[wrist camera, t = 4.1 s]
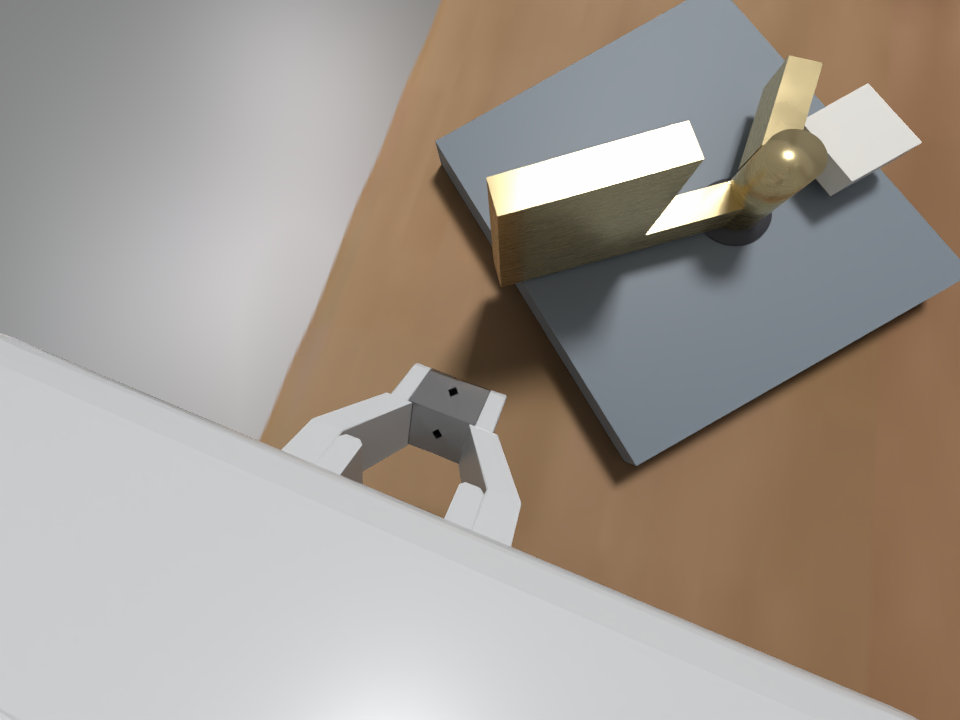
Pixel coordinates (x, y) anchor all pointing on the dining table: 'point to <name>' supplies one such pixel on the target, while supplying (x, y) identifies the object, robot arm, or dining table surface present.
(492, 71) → the dining table surface
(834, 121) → the cover
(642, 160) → the key
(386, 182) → the dining table surface
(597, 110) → the lock plate
